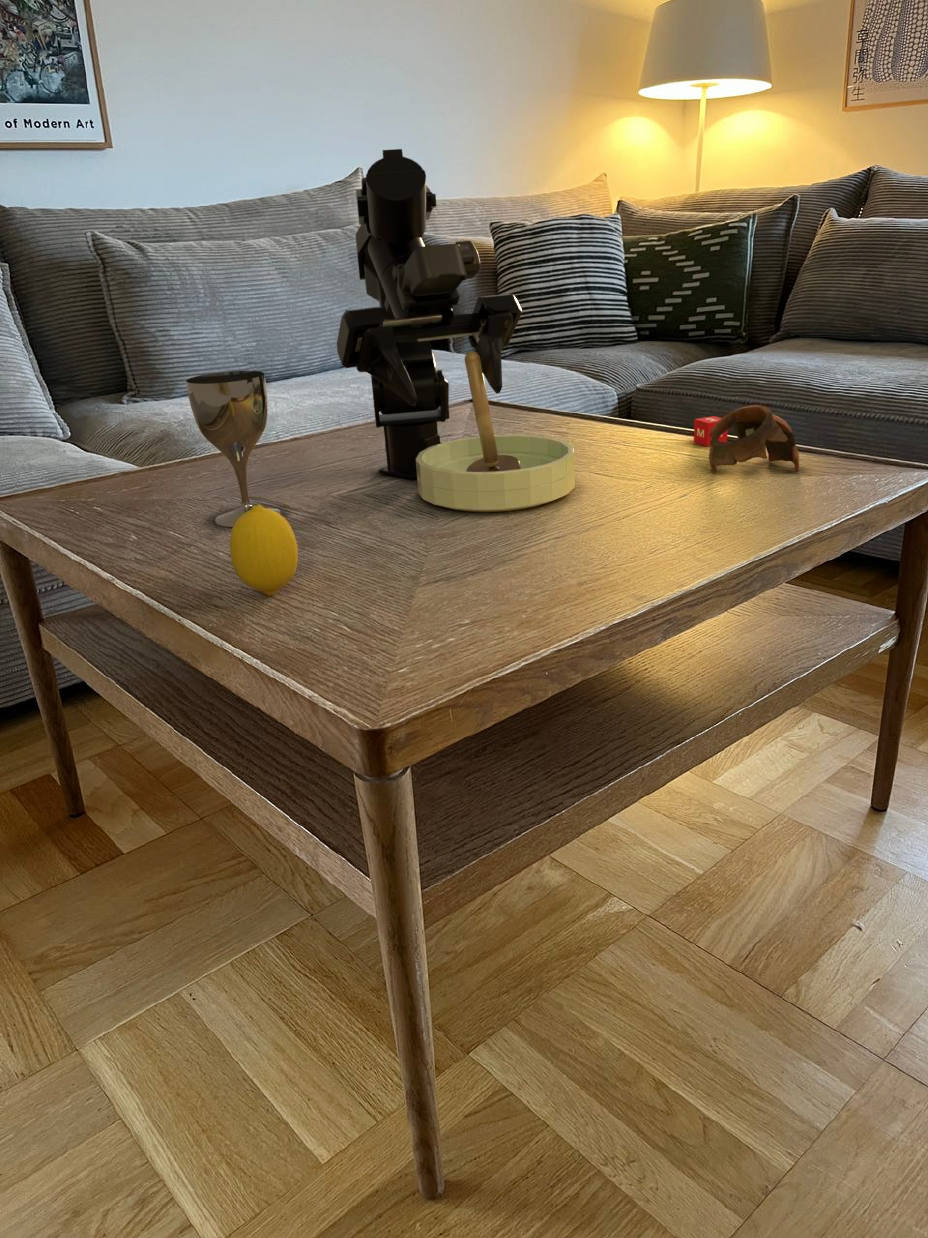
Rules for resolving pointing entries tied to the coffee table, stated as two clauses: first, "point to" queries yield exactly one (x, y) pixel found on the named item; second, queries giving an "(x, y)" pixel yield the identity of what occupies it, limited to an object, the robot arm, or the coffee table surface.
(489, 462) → the stirring stick
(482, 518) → the coffee table surface
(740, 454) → the brown arched hollow part
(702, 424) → the dice
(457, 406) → the coffee table surface
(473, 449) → the bowl
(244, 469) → the wine glass
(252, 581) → the lemon
